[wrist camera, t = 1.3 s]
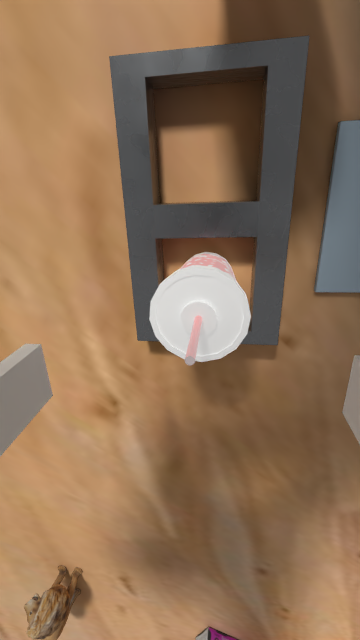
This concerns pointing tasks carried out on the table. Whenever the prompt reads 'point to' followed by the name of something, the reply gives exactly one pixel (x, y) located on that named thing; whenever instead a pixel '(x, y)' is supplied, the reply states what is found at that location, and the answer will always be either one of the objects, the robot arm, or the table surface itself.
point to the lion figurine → (52, 608)
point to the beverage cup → (200, 310)
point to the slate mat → (342, 216)
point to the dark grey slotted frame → (211, 217)
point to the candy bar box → (213, 635)
